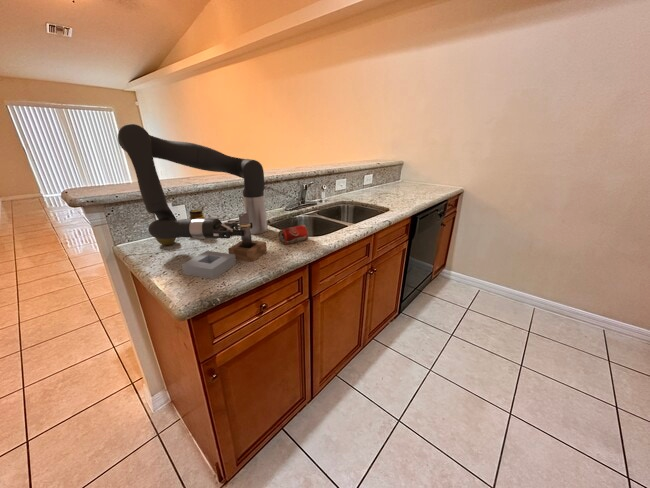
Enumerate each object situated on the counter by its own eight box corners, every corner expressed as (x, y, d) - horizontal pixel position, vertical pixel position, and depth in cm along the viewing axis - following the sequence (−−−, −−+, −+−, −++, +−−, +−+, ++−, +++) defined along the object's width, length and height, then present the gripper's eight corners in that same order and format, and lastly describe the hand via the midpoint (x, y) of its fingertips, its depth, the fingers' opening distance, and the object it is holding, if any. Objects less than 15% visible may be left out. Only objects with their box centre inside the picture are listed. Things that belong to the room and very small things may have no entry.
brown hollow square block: (245, 248, 107) (243, 239, 105) (266, 251, 104) (265, 241, 102) (229, 258, 98) (228, 248, 97) (253, 261, 95) (251, 251, 94)
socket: (208, 259, 97) (207, 250, 96) (236, 263, 94) (235, 254, 93) (183, 274, 87) (181, 264, 85) (213, 279, 83) (211, 269, 82)
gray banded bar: (247, 252, 103) (242, 212, 97) (255, 253, 102) (251, 213, 96) (241, 256, 100) (236, 215, 94) (250, 257, 99) (245, 216, 93)
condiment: (209, 232, 126) (205, 208, 122) (206, 238, 118) (201, 212, 114) (193, 234, 124) (188, 209, 120) (189, 240, 117) (183, 214, 112)
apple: (173, 239, 118) (169, 224, 115) (181, 243, 113) (177, 227, 110) (154, 244, 112) (150, 228, 109) (162, 248, 107) (158, 232, 105)
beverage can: (277, 242, 113) (276, 227, 111) (301, 236, 120) (300, 222, 117) (285, 247, 108) (284, 232, 105) (309, 241, 114) (309, 226, 112)
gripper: (194, 224, 90) (240, 225, 89) (213, 213, 103) (253, 214, 102) (198, 244, 93) (243, 245, 92) (216, 231, 106) (255, 232, 105)
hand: (248, 229), depth 97 cm, fingers open, 8 cm apart
